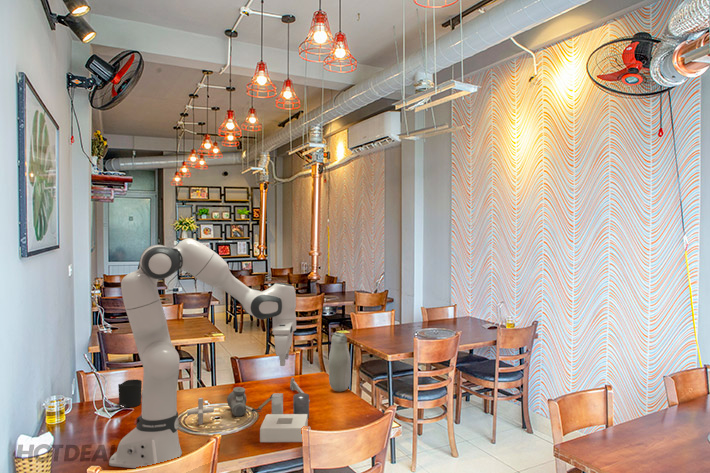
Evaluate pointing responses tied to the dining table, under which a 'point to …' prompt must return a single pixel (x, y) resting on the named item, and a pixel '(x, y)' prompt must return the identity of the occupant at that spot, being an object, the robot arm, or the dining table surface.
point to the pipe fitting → (237, 401)
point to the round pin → (301, 404)
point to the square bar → (277, 403)
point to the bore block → (283, 427)
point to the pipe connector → (200, 411)
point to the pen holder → (130, 393)
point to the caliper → (295, 386)
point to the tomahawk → (263, 404)
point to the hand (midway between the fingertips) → (284, 362)
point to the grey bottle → (339, 363)
